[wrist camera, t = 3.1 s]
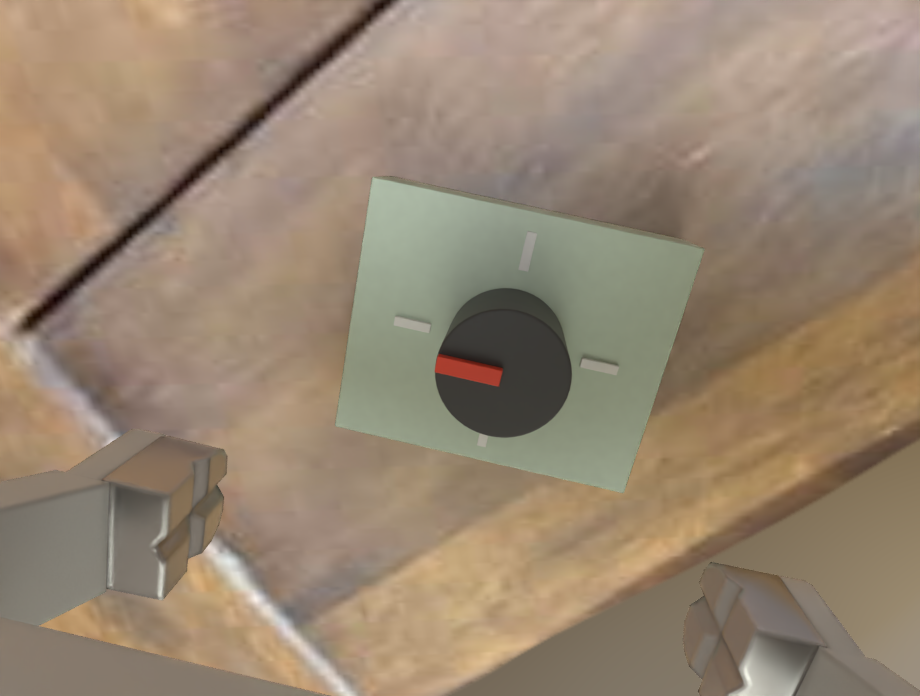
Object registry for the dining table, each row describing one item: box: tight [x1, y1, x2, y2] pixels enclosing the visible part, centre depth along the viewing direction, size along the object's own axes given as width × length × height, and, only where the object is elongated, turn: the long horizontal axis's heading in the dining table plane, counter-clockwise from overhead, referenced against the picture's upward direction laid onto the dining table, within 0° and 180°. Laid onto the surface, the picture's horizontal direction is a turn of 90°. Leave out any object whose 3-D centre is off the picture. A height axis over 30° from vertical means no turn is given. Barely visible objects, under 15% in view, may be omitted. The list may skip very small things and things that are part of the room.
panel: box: [335, 176, 704, 493], centre depth 23 cm, size 12×10×3 cm
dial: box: [435, 288, 572, 438], centre depth 20 cm, size 4×4×4 cm
